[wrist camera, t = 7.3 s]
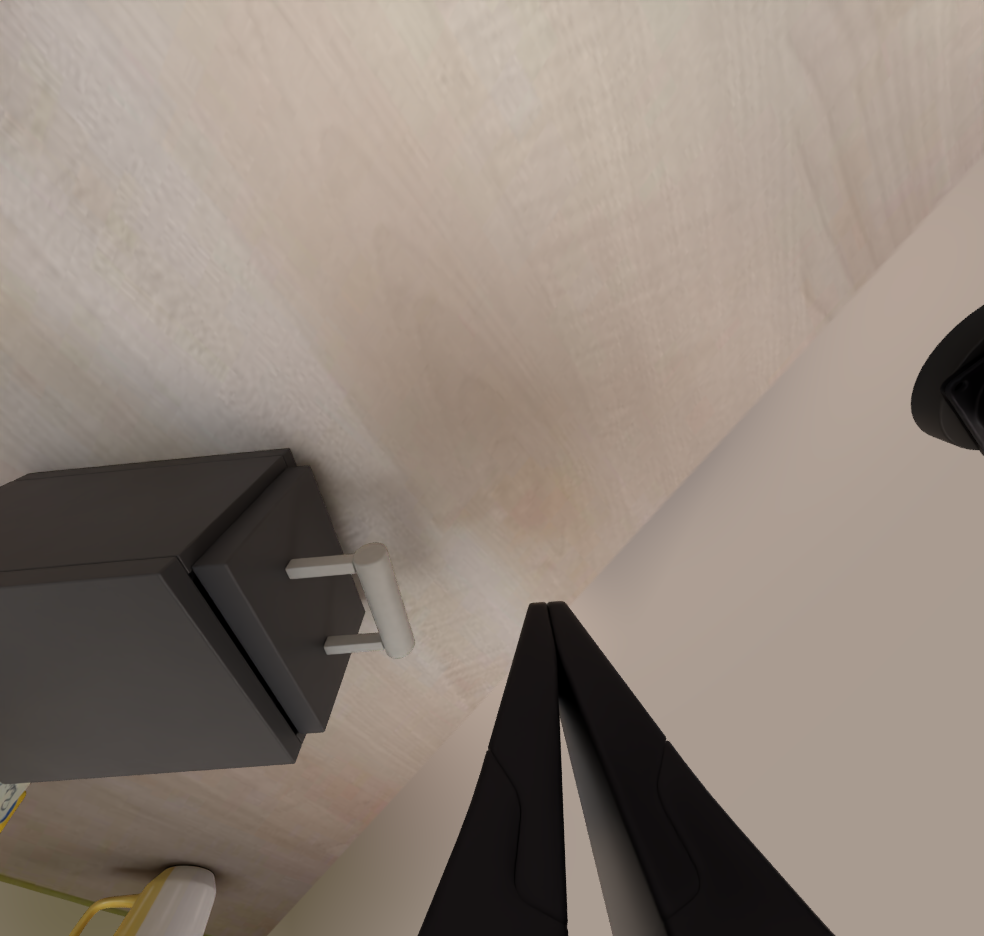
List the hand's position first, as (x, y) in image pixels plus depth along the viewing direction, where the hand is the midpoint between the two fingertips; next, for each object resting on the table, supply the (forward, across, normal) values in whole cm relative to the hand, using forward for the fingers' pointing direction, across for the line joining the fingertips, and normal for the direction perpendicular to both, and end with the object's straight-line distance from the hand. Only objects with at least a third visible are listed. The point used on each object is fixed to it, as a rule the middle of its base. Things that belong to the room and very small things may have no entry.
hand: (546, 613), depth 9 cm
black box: (+11, +18, +6) cm, 22 cm away
